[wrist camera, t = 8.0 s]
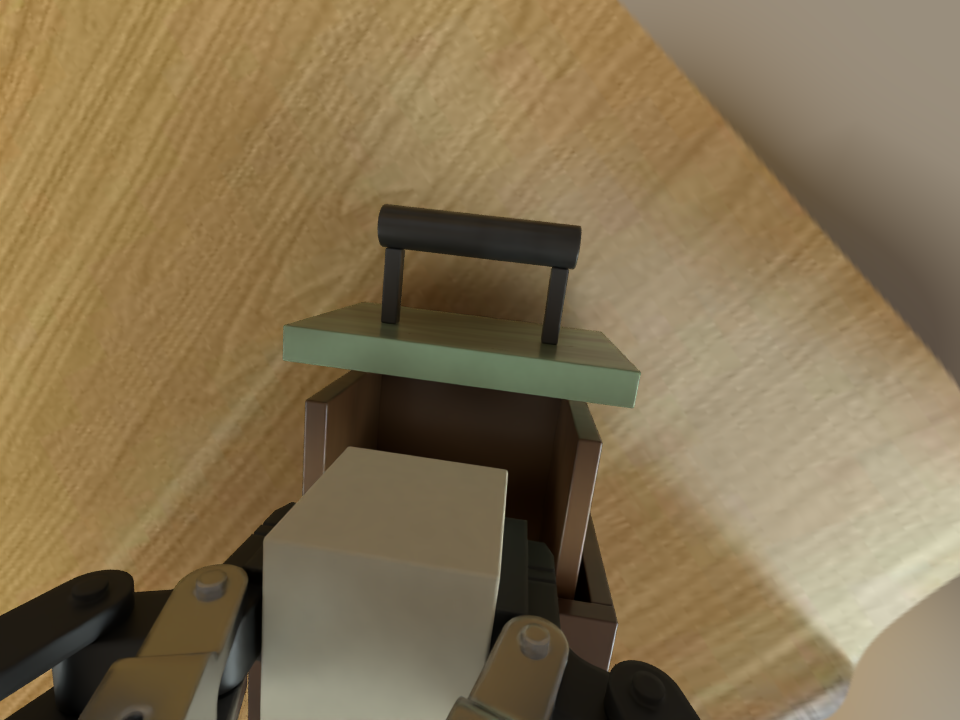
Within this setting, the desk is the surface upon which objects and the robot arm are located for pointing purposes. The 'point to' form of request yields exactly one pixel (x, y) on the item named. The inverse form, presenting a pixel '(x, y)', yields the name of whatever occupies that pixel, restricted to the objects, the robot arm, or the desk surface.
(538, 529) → the drawer
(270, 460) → the desk surface
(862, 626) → the desk surface
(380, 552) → the block
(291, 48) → the desk surface
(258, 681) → the cabinet
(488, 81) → the desk surface
